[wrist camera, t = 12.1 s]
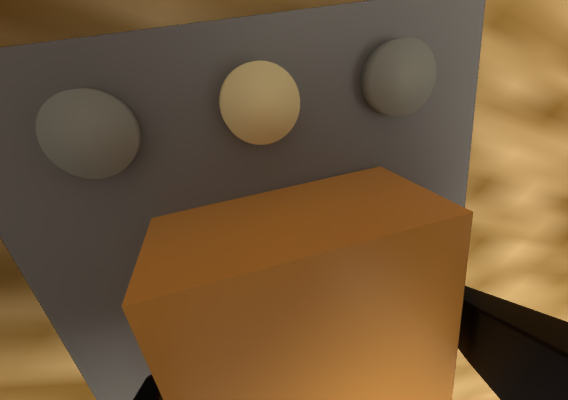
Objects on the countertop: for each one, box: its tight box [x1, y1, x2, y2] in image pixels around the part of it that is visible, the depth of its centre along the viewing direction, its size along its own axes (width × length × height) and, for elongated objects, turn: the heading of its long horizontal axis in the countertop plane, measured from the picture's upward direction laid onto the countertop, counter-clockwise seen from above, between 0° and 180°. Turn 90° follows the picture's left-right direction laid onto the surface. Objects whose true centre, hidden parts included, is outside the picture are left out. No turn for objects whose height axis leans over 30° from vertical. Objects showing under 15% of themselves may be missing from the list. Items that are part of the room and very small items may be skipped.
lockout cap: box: [121, 166, 473, 400], centre depth 9 cm, size 7×7×4 cm
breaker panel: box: [0, 0, 485, 400], centre depth 11 cm, size 14×12×3 cm
